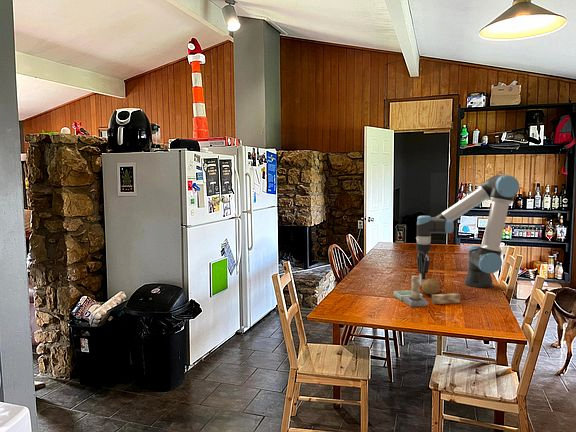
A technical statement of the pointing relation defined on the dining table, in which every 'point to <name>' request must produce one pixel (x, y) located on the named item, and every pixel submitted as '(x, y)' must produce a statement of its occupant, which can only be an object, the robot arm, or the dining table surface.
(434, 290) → the potato
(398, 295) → the tray
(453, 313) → the dining table surface
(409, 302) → the collar
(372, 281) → the dining table surface
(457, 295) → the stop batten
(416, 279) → the dowel
